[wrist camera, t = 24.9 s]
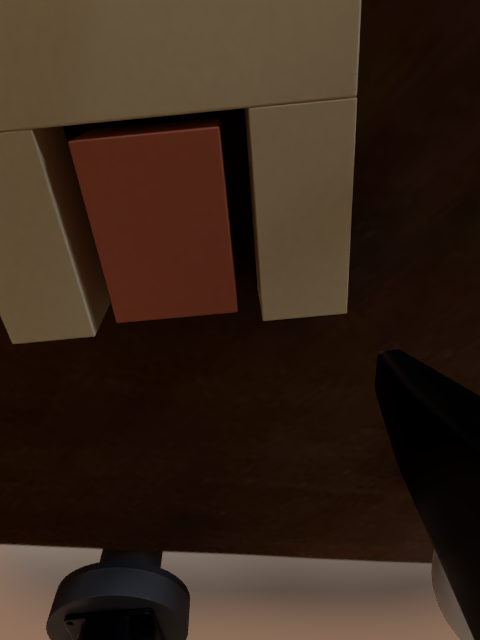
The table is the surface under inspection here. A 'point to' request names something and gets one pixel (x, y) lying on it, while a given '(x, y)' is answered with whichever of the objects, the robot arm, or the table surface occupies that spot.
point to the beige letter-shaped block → (164, 100)
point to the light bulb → (448, 601)
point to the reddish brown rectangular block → (159, 217)
